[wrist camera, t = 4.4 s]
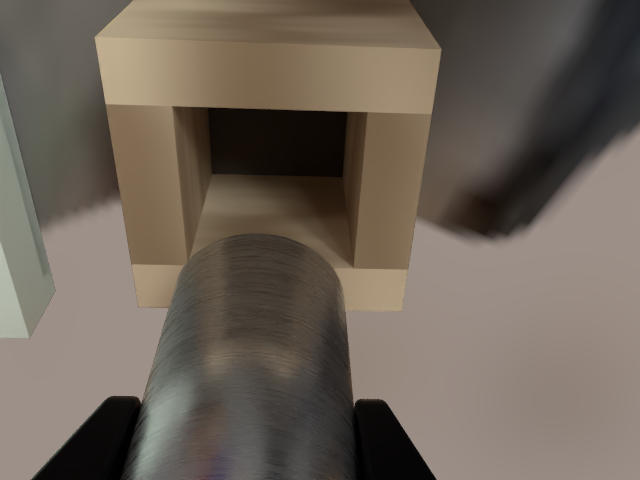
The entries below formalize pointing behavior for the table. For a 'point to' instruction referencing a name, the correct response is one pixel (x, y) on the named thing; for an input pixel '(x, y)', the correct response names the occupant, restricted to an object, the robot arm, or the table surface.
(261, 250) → the pin
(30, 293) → the tray
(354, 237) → the bore block
